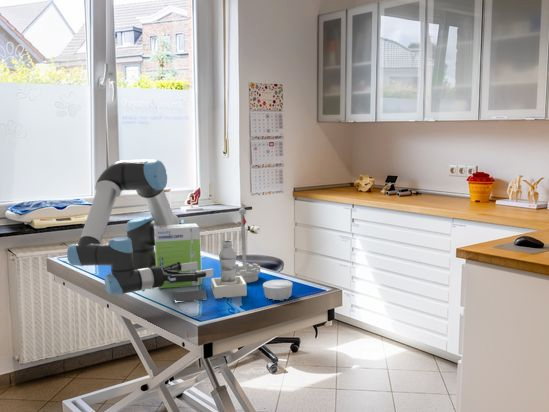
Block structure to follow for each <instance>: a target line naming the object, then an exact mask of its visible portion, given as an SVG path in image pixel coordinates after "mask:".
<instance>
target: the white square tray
mask: <svg viewBox="0 0 549 412" xmlns="http://www.w3.org/2000/svg"><path fill="white" fill-rule="evenodd" d="M210 279H211V280H210V281H211V283H210V284H211V291H212V294H213V297H214V299H224V298H223V297H226V298H235V297H246V296H248V295H247V294H248V293H247V290H248V289H247V287H248V286H247V283H245V281H244V279H243V278H242V276H236V281H237V284H233V285H221V286H220V281H221V277H213V278H211V277H210Z"/></svg>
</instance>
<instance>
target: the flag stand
mask: <svg viewBox="0 0 549 412" xmlns="http://www.w3.org/2000/svg"><path fill="white" fill-rule="evenodd" d="M238 213H239V215H240V224H241V225H240V227H241V228H240V230H241V232H240V233H241V252H242V254H241V255H242V258H241V259H242V265H239V263H235V275H236V276H242V278H243V279H244V281H245V283H246V284H247V283H253V282H257V281H258V280H259V274H260V273H261V265H259V264H258V263H252V265H250V263H249V262H247V250H246V248H247V247H246V224H247V219H246V218H245V215H246V214H247V209H245V208H244V207H241V208H240V209H239V210H238Z"/></svg>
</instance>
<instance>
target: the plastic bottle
mask: <svg viewBox="0 0 549 412" xmlns="http://www.w3.org/2000/svg"><path fill="white" fill-rule="evenodd" d="M221 247H222V248H221V250H220V252H219V254H218V257H219V264H220V278H221V281H220V286H221V285H233V284H237V281H236V275H235V264H237V263H236V261H237V260H236V259H237V254H236V251H235V250H234V248H233V241H232V240H223V241H221Z"/></svg>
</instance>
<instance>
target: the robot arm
mask: <svg viewBox="0 0 549 412" xmlns="http://www.w3.org/2000/svg"><path fill="white" fill-rule="evenodd" d="M167 183H168V174H167V169H166V166H165V164H164V163H163V162H162V160H159V159H152V158H150V159H131V160H126V159H125V160H124V159H123V160H118V161H115V162H114V163H112V164H110V165H109V166H108V167H106V169H104V170H103V172H102V173H101V174H100V175H99V177H98V178H97V181H96V184H95V186H94V187H95V188H94V189H95V195H94V197H93V200H92V203H91V206H90V209H89V212H88V215H87V217H86V220H85V222H84V223H85V224H84V225H83V228H82V231H81V234H80V237H79V240H78V242H76V243H72V244H70V245H69V246H68V247H67V250H66V251H67V252H66V259H67V261H68V262H69V264H70V265H71V266H77V267H79V266H80V267H83V266H110V273H107V274H106V275H105V277H104V286H105V290H106V292H107V294H108V295H110V296H117V295H124V294H129V293H134V292H139V291H142V292H145V290H150V289H156V288H158V287H162V286H163V284H164V281H168V282H170V283H175V282H190V281H196V282H198V279H201V278H202V279H204V278H211V277H214V268H209V269H208V268H206V269H201V271H196V272H179V271H180V270H181V271H187V270H193V269H198V264H197V261H196V262H190V263H184V264H181V265H180V262H177V264H176V263H174V264H171V265H168V266H165V267H162V268H161V267H160V266H156V257H155V236H154V226H160V225H177V224H187V222H186V220H185V219H182V218H181V219H180V217H178V216H177V214H175V213H173V210H172V207H171V205H170V202H169V200H168V197H167V195H166V193H165V189H166V186H167ZM122 191H136V193H137V195H138V196H139V197H141V198H143V199H144V202H145V204H146V206H147V208H148V211H149V213H150V215H151V216H141V217H137V218H133V219H131V220H128V221H127V223H126V236H119V237H118V236H117V237H116V236H115V237H112V238H110V239H109V240H108V241H109V242H108V243H102V241H103V239H104V235H105V232H106V230H107V227H108V224H109V221H110V217H111V215H112V211H113V209H114V206H115V202H116V199H117V198H119V196H120V195H121V194H122V193H121V192H122Z"/></svg>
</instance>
